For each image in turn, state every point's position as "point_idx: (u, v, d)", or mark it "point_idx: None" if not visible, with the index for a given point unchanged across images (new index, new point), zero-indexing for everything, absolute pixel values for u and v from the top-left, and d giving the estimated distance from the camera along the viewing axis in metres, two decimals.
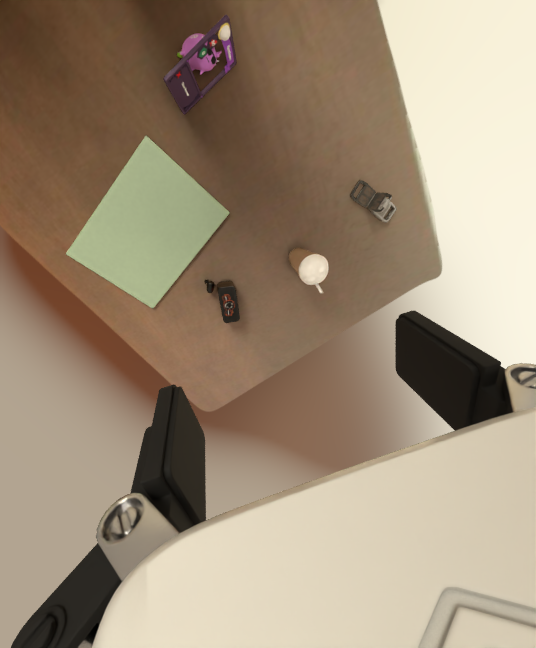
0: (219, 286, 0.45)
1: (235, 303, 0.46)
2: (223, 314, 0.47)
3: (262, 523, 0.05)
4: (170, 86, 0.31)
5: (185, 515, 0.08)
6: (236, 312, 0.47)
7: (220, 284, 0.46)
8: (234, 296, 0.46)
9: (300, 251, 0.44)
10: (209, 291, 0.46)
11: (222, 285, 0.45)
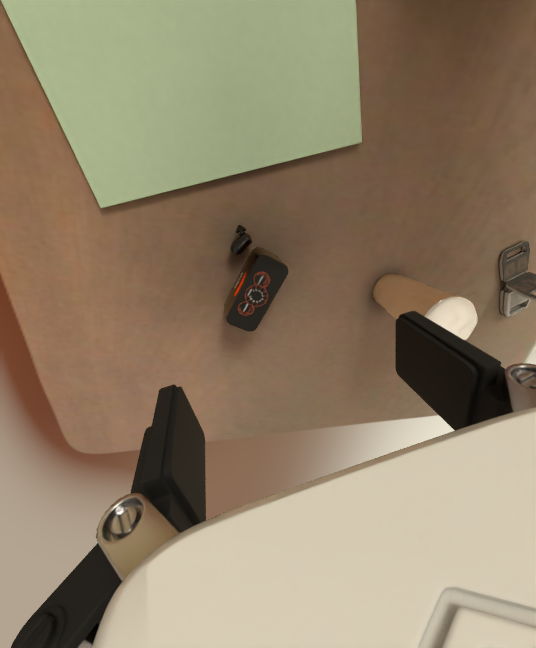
0: (261, 252, 0.22)
1: (268, 299, 0.23)
2: (234, 305, 0.22)
3: (262, 523, 0.05)
4: None
5: (185, 515, 0.08)
6: (258, 315, 0.23)
7: (263, 250, 0.22)
8: (276, 286, 0.22)
9: (417, 282, 0.25)
10: (235, 250, 0.22)
11: (267, 254, 0.22)
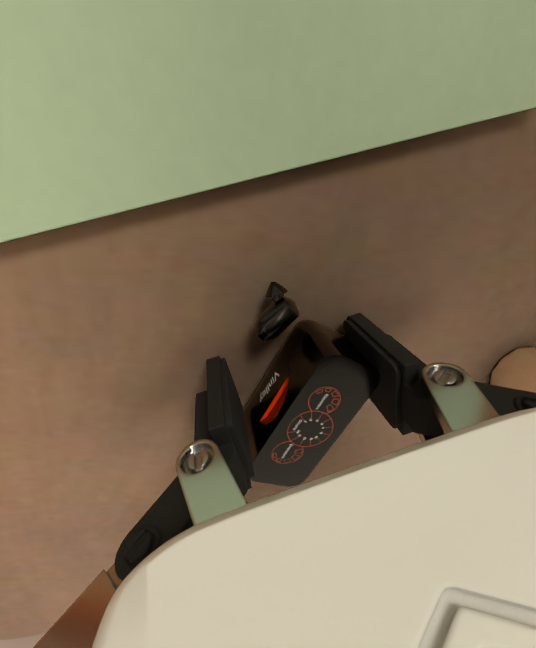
0: (323, 341, 0.10)
1: (333, 432, 0.11)
2: (265, 450, 0.11)
3: (262, 523, 0.05)
4: None
5: (241, 463, 0.09)
6: (311, 460, 0.11)
7: (322, 333, 0.11)
8: (351, 409, 0.11)
9: None
10: (264, 334, 0.11)
11: (335, 344, 0.10)
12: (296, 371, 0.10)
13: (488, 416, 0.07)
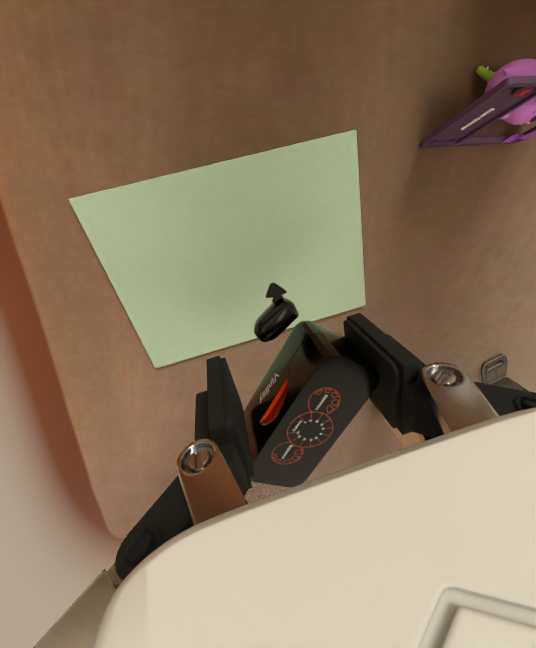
0: (323, 342, 0.10)
1: (333, 433, 0.11)
2: (265, 451, 0.11)
3: (262, 523, 0.05)
4: (490, 97, 0.16)
5: (241, 463, 0.09)
6: (311, 460, 0.11)
7: (321, 334, 0.11)
8: (351, 410, 0.11)
9: None
10: (264, 335, 0.11)
11: (335, 345, 0.10)
12: (296, 372, 0.10)
13: (488, 416, 0.07)
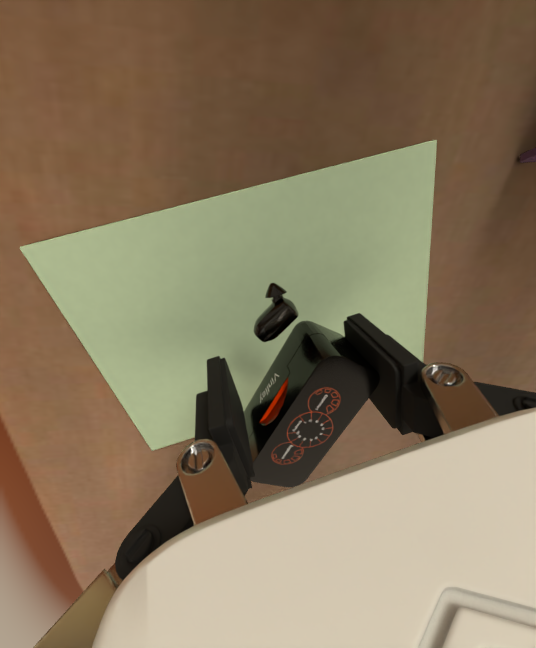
0: (323, 342, 0.10)
1: (333, 433, 0.11)
2: (265, 451, 0.11)
3: (262, 523, 0.05)
4: None
5: (241, 463, 0.09)
6: (311, 460, 0.11)
7: (321, 334, 0.11)
8: (351, 410, 0.11)
9: None
10: (264, 335, 0.11)
11: (335, 345, 0.10)
12: (296, 372, 0.10)
13: (488, 416, 0.07)
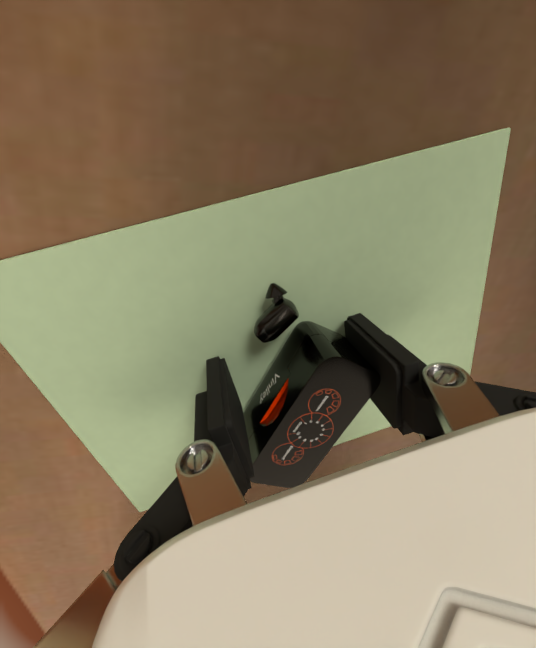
0: (323, 343, 0.10)
1: (334, 434, 0.11)
2: (265, 452, 0.11)
3: (262, 523, 0.05)
4: None
5: (241, 464, 0.09)
6: (312, 461, 0.11)
7: (322, 334, 0.11)
8: (352, 411, 0.11)
9: None
10: (264, 335, 0.10)
11: (335, 345, 0.10)
12: (296, 373, 0.10)
13: (488, 416, 0.07)
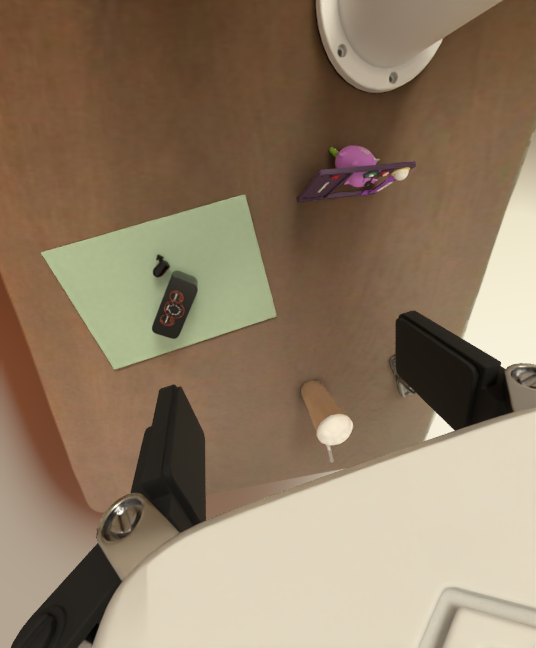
0: (175, 275, 0.27)
1: (185, 312, 0.28)
2: (157, 318, 0.28)
3: (262, 523, 0.05)
4: (317, 179, 0.24)
5: (185, 514, 0.08)
6: (178, 325, 0.29)
7: (178, 273, 0.28)
8: (189, 301, 0.28)
9: (323, 393, 0.37)
10: (155, 274, 0.28)
11: (181, 276, 0.28)
12: None
13: None
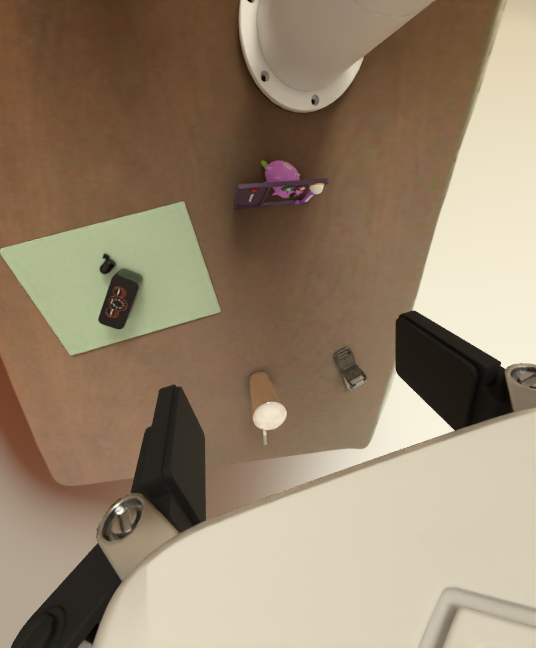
0: (118, 272, 0.31)
1: (128, 306, 0.32)
2: (102, 311, 0.31)
3: (262, 523, 0.05)
4: (239, 192, 0.27)
5: (185, 514, 0.08)
6: (123, 317, 0.32)
7: (122, 271, 0.31)
8: (131, 296, 0.31)
9: (266, 383, 0.41)
10: (101, 271, 0.31)
11: (124, 273, 0.31)
12: None
13: None
